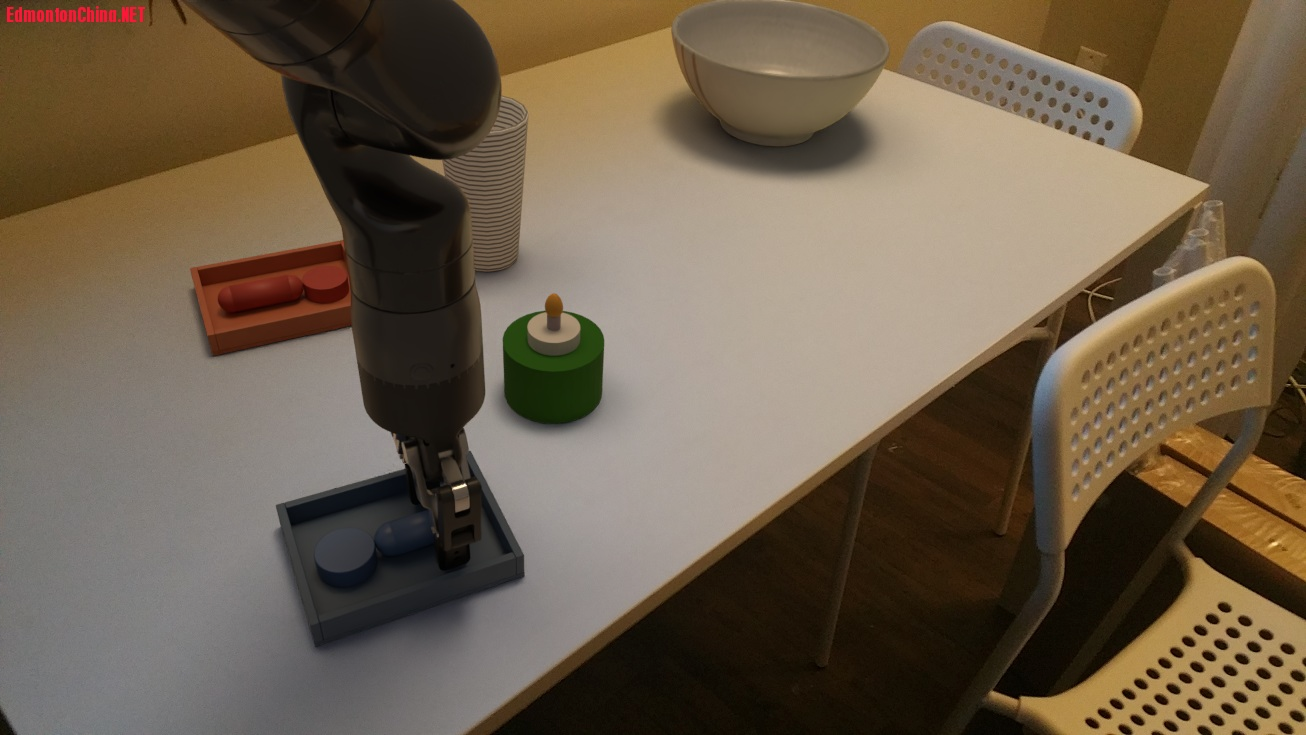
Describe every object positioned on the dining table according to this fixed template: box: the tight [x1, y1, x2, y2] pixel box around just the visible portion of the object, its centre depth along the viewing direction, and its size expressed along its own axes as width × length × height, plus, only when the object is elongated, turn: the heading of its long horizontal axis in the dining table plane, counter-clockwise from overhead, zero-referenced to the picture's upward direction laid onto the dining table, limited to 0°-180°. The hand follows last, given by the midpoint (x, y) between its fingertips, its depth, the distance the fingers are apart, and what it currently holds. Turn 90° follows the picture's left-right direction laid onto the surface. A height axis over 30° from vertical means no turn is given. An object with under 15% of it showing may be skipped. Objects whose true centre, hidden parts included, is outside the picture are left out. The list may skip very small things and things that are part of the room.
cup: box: [441, 95, 530, 273], centre depth 95 cm, size 8×8×16 cm
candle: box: [502, 292, 605, 425], centre depth 81 cm, size 8×8×10 cm
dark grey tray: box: [275, 450, 526, 647], centre depth 69 cm, size 14×11×2 cm
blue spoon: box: [314, 510, 434, 587], centre depth 68 cm, size 11×4×2 cm, turn 117°
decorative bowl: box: [670, 0, 891, 147], centre depth 124 cm, size 27×27×12 cm
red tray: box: [189, 239, 352, 357], centre depth 90 cm, size 14×11×2 cm
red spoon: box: [218, 266, 349, 312], centre depth 90 cm, size 11×4×2 cm, turn 117°
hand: (438, 529), depth 70 cm, fingers open, 6 cm apart
